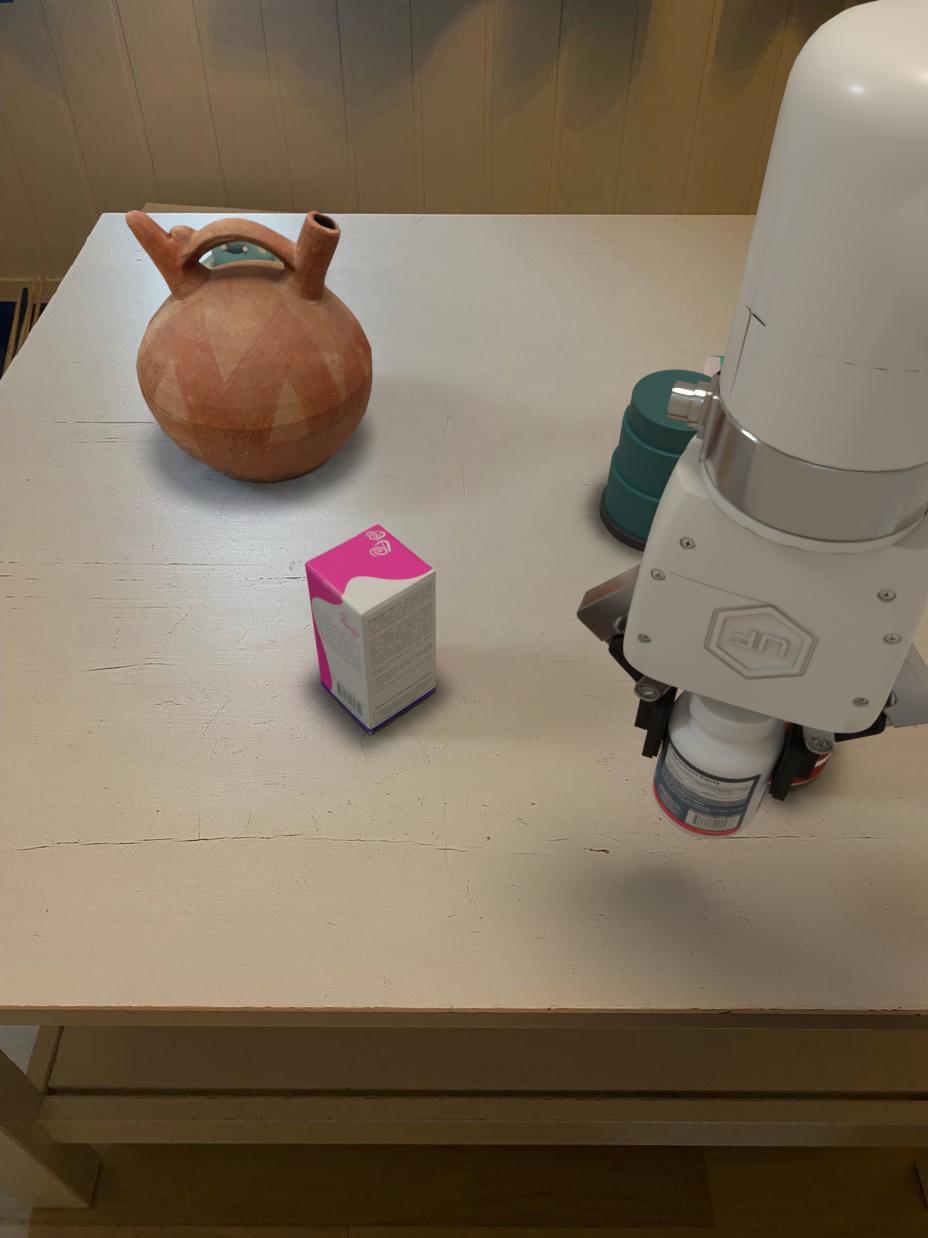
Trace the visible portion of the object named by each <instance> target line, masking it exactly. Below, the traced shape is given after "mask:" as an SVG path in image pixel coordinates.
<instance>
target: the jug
mask: <svg viewBox="0 0 928 1238" xmlns="http://www.w3.org/2000/svg"><path fill="white" fill-rule="evenodd" d="M304 218H305V219H304V221H303V223H302V226H301V228H300V232H299V235H298V238H297V240H296V241H293V240H291V239H290V238H288V237H286V236H284V235H283V234H281V233H279V232H278V231H276V230H274V229H271V228H270V227H268V226H267V225H264V224H262V223H259V222H257V221H254V220H250V219H247V218H246V219H245V218H241V217H226V218H221V219H218V220H214V221H212V222H210V223H208V224H206V225H204V226H202V227H201V228H199V230H198V229H196V228H193V227H190V226H188V225H186V224H183V225H174V226H173V227H170V229H169V232H167V231H166V230H165V229H164V228H163V227H162V226H161V225H159V224H158V223H157V222H156V221H155V220H154V219H153V218H152V217H150V216H149V214H147V213H146V212H143V211H140V210H135V209H134V210H130V211H127V212H126V213H125V217H124V220H125V223H126V225H127V228H128V229H129V230H130V231H131V232H132V234H133V236H134V237H135V239H136V240H137V242H138V243H139V245H140V246H141V248H142V249H143V250H144V252H145V253H146V255H148V257H149V258H150V260H151V261H152V263H153V264H154V266H155V268H157V270H158V272H159V273H160V275H161V276H162V278H163V280H164V281H165V283H166V284H167V287H168V290H169V291H170V294H169V295H168V296H167V297H166V299H165V300H164V301H163V302H162V303H161V305H160V306H159V307H158V309H157V310H156V311H155V313H154V314H153V315H152V316H151V318H150V320H149V322H148V325H147V326H146V329H145V331H144V333H143V336H142V339H141V342H140V344H139V348H138V351H137V356H136V362H135V369H136V376H137V380H138V384H139V388H140V392H141V395H142V397H143V400H144V401H145V403H146V406H147V408H148V410H149V412H150V413H151V414H152V416H153V418H154V419H155V421H156V422H157V425H158V426H159V427H160V429H161V430H162V432H163V433H164V434H165V435H166V436H167V437H168V438H169V439H170V440H171V441H172V442H173V443H174V444H175V445H176V446H177V447H178V448H180V449H181V450H182V451H183V452H184V453H186V454H187V455H188V456H189V457H191V458H193V459H194V460H196V461H197V462H199V463H202V464H203V465H205V466H207V467H209V468H211V469H213V470H215V471H217V472H219V473H221V474H224V475H226V476H228V477H230V478H231V479H234V480H238V481H243V482H247V483H251V484H277V483H282V482H288V481H293V480H296V479H299V478H301V477H304V476H306V475H309V474H311V473H313V472H315V471H316V470H319V469H320V468H322V467H323V466H324V465H326V464H327V463H328V462H329V461H330V460H331V459H332V458H333V457H334V456H335V455H336V454H337V453H338V452H339V451H340V450H341V449H342V448H343V447H344V446H345V445H346V443H347V442H348V441H349V440H350V439H351V438H352V436H353V435H354V433H355V431H356V430H357V428H358V426H359V425H360V423H361V421H362V420H363V417H364V416H365V414H366V412H367V409H368V407H369V402H370V398H371V394H372V389H373V388H372V386H373V377H374V376H373V374H374V373H373V354H372V353H373V352H372V346H371V344H370V342H369V339H368V337H367V335H366V333H365V331H364V329H363V327H362V325H361V323H360V321H359V320H358V318H357V317H356V316H355V314H354V313H353V312H352V311H351V309H350V307H348V306H347V305H346V303H344V302H343V300H342V299H341V298H340V297H339V296H338V295H337V294H335V293H334V292H333V291H332V290H331V289H330V288H329V287H328V286H327V285H326V284H325V283H326V276H327V273H328V270H329V268H330V265H331V263H332V261H333V257H334V255H335V252H336V251H337V247H338V244H339V241H340V238H341V234H342V230H341V228H340V225H339V224H338V223H337V222H336V221H335V220H334V218H332V217H331V216H329V215H327V214H324V213H320V212H319V211H316V210H312V211H309V212H307V214H306V216H305V217H304ZM230 242H248V243H251V244H253V245H256V246H259V247H261V248H263V249H264V250H266V251H268V252H270V253H271V254H272V255H274V256H275V257H276V258H278V259H279V260H280V261H281V262H282V263H280V262H275V261H267V260H243V261H236V262H231V263H227V264H223V265H219V266H216V267H213V268H211V269H209V268H207V267H206V266H204V265H203V264H201V262H200V261H201V259H202V258H203V256H204V255H206V254H208V253H209V252H211V250H212V249H214V248H216V247H219V246H221V245H224V244H227V243H230Z"/></svg>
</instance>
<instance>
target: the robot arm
mask: <svg viewBox="0 0 928 1238" xmlns="http://www.w3.org/2000/svg"><path fill="white" fill-rule="evenodd" d="M786 81H787V82H786V85H785V89H784V93H783V96H782V100H781V103H780V107H779V112H778V115H777V121H776V125H775V129H774V133H773V138H772V143H771V147H770V151H769V156H768V160H767V164H766V170H765V174H764V179H763V183H762V187H761V192H760V197H759V199H758V200H759V201H758V205H757V210H756V214H755V220H754V224H753V228H752V233H751V236H750V242H749V246H748V251H747V254H746V258H745V259H746V260H745V264H744V268H743V273H742V278H741V283H740V288H739V292H738V295H737V300H736V304H735V307H734V308H735V309H734V313H733V316H732V317H733V318H732V322H731V325H730V326H731V327H730V331H729V335H728V340H727V344H726V349H725V352H724V355H723V356H724V360H723V365H722V369H721V373H720V375H717V374H713V377H712V379H711V382H710V383H708V382H703V381H699V382H698V384H694V383H689V382H685V381H680V380H676V382H675V384H674V387H673V390H672V393H671V396H670V400H669V404H668V408H667V416H666V418H668V419H672V420H676V421H681V422H685V423H687V427H688V428H693V429H697V434H696V435H695V436H694V437H693V438H692V439H691V441H690V442H689V444H688V446H687V448H686V449H685V451H684V452H683V454H682V455H681V457H680V459H679V460H678V462H677V464H676V466H675V468H674V470H673V472H672V474H671V476H670V478H669V481H668V483H667V485H666V487H665V490H664V492H663V495H662V497H661V500H660V502H659V505H658V508H657V511H656V514H655V517H654V520H653V523H652V526H651V529H650V533H649V536H648V540H647V543H646V547H645V551H643V554H642V558H641V562H640V563H639V564H637V565H636V566H634V567H632V568H629V569H628V570H625V571H624V572H621V573H620V574H617V575H616V576H613V577H612V578H610V579H608V580H606V581H604V582H602V583H600V584H598V585H596V586H594V587H592V588H590V589H588V590H587V591H585V593H584V595H583V597H582V600H581V602H580V604H579V606H578V609H577V611H576V617H577V619H578V621H580V623H581V624H583V625H584V626H585V627H586V628H587V629H588V630H589V631H590V632H591V633H592V634H593V635H594V636H595V637H596V638H597V639H598V640H599V641H600V642H604V643H606V644H607V646H608V649H607V650H608V653H609V655H610V656H611V657H612V658H613V659H614V661H616V663H618V664H619V666H620V667H621V668H622V669H623V670H624V671H625V672H626V673H627V675H629V677H630V678H631V679H632V680H633V681H634V682H635V685H634V687H633V693H634V694H635V695H636V696H637V698H639V701H638V706H637V711H636V716H635V721H634V725H633V726H634V727H635V728H639V729H641V730H644V731H646V734H645V739H644V743H643V748H642V752H641V756H642V757H646V758H648V759H650V760H651V759H653V757H654V758H658V757H659V753H660V749H661V745H662V741H663V737H664V733H665V729H666V725H667V721H668V717H669V714H670V711H671V708H672V705H673V704H674V702H675V700H676V699H677V698H676V697H677V695H678V690H679V689H680V690H683V691H684V690H686V691H690V692H693V693H696V694H699V695H702V696H706V697H709V698H712V699H715V700H719V701H722V702H725V703H728V704H732V705H735V706H738V707H742V708H745V709H748V710H752V711H755V712H758V713H762V714H765V715H768V716H772V717H775V718H779V719H782V720H786V721H789V724H788V726H787V728H786V731H785V732H786V735H785V743H784V747H783V750H782V753H781V756H780V758H779V760H778V763H777V765H776V767H775V769H774V772H773V775H772V780H771V784H769V789H768V794H769V795H771V798H772V799H775V800H778V801H781V802H785V800H786V798H787V795H788V793H789V791H790V788H791V787H792V786H793V785H792V782H793V780H794V778H795V777H796V778H799V779H802V780H805V781H808V779H809V777H810V775H811V773H812V771H813V769H814V767H815V765H816V763H817V761H818V759H819V757H820V755H821V754H829V753H831V752H832V753H834V751H835V749H836V747H835V743H837V742H838V743H841V742H847V741H851V740H856V739H861V738H862V739H863V738H867V737H872V736H877V735H880V734H882V733H883V732H885V730H886V728H887V727H888V728H889V727H893V728H894V729H899V728H900V729H901V728H906V727H912V726H913V727H914V726H919V725H927V724H928V665H927V664H926V662H925V660H924V659H923V657H922V656H921V654H920V653H919V651H918V649H917V647H916V646H915V644H914V642H913V641H914V638H915V635H916V632H917V631H918V628H919V626H920V623H921V620H922V618H923V615H924V613H925V610H926V607H927V604H928V0H874V1H869V2H866V3H862V4H858V5H854V6H851V7H849V8H847V9H845V10H843V11H840V12H839V13H838V14H836V15H835V16H833V17H832V18H829V20H827V21H826V22H824V23H823V24H821V25H820V26H819V27H818V28H817V29H816V30H815V31H814V32H813V34H812V35H811V36H810V37H809V38H808V40H807V41H806V42H805V44H804V45H803V47H802V49H801V50H800V52H799V54H798V55H797V56H796V58H795V59H794V62H793V65H792V67H791V69H790V72H789V75H788V78H787V80H786ZM838 743H837V744H838ZM834 748H835V749H834ZM808 782H809V781H808ZM791 785H792V786H791Z"/></svg>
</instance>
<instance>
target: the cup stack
mask: <svg viewBox="0 0 928 1238" xmlns="http://www.w3.org/2000/svg"><path fill="white" fill-rule="evenodd" d="M702 373H703V372H698V371H694V370H689V369H676V368H675V369H666V370H665V369H663V370H659V371H655V372H651V373H649V374H647V375H645V376H643V377H641V378H640V379H639V380H638V381H637V382H636V384H635V385H634V387H633V389H632V392H631V397H630V403H629V404H628V405H627V407H626V408H625V409H624V412H623V415H622V421H621V427H620V433H619V440H618V445H617V446H616V447H615V449H614V450H613V452H612V454H611V459H610V465H609V469H608V470H609V471H608V476H607V483H606V485H605V487H604V489H603V490H602V493H601V496H600V503H599V514H600V518H601V520H602V523H603V524H604V526H605V527H606V529H607V530H608V531H609V533H610V534H612V535H613V536H614V537H615V539H618V540H619V541H620V542H622V543H623V544H626V545H627V546H629V547H632V548H633V549H636V550H639V551H643V552H644V551H645V547H646V543H647V540H648V536H649V533H650V529H651V526H652V523H653V520H654V517H655V514H656V511H657V508H658V505H659V502H660V500H661V497H662V495H663V492H664V490H665V487H666V485H667V483H668V481H669V478H670V476H671V474H672V472H673V470H674V468H675V466H676V464H677V462H678V460H679V459H680V457H681V455H682V454H683V452H684V451H685V449H686V448H687V446H688V444H689V442H690V441H691V439H692V438H693V437H694V436H695V435H696V434H697V429H693V428H688V427H687V423H685V422H681V421H676V420H672V419H668V418H666V416H667V408H668V404H669V400H670V396H671V393H672V390H673V387H674V384H675V382H676V380H680V381H685V382H689V383H694V384H698V382H699V381H703V382H708V383H710V382H711V379H712V377H710V376H708V375H705V374H702Z"/></svg>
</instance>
